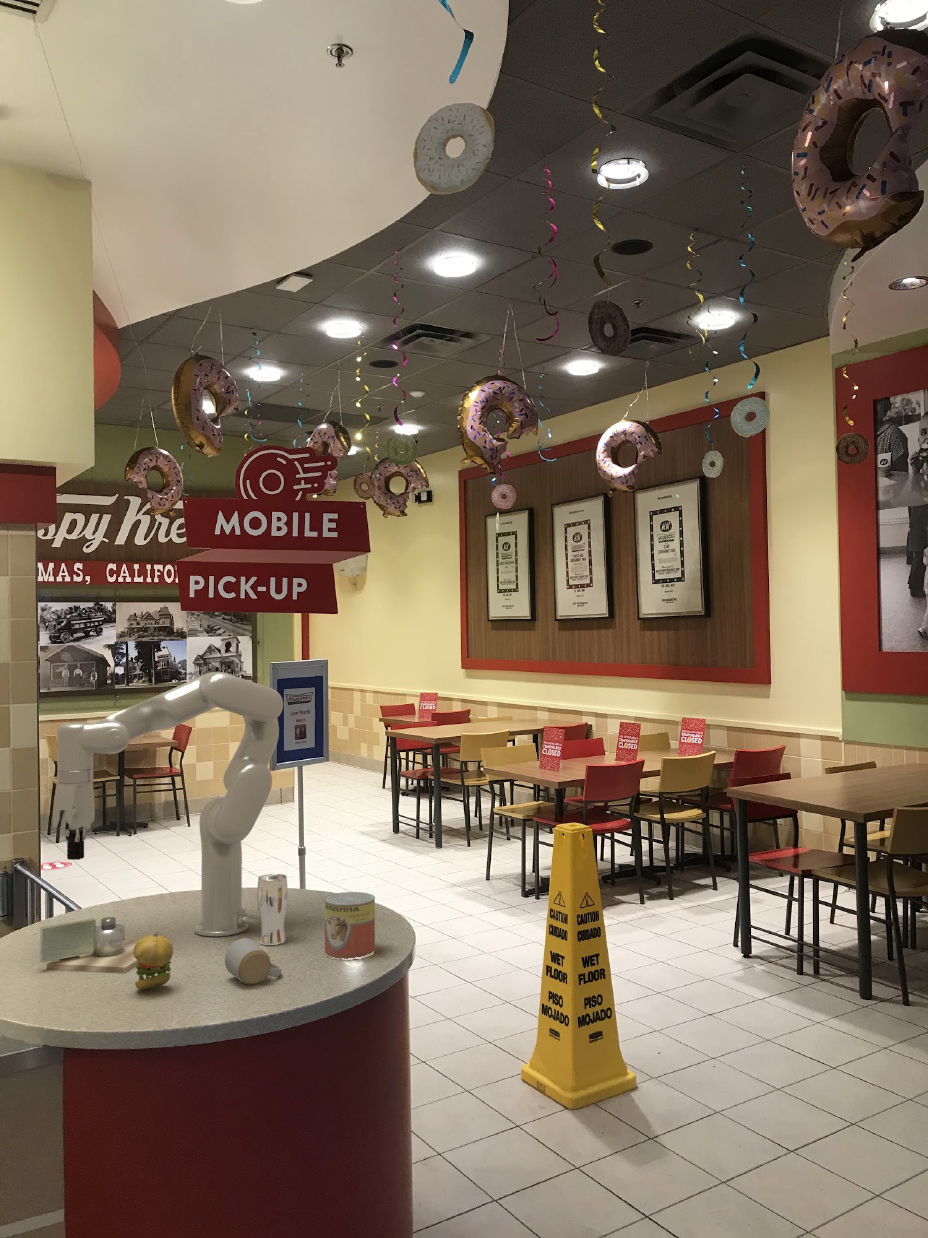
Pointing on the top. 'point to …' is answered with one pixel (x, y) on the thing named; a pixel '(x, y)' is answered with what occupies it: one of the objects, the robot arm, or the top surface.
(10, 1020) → the top surface
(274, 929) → the beer glass
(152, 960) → the hamburger
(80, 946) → the green panel with knob
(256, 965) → the ceramic mug
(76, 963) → the board
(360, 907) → the canned food
